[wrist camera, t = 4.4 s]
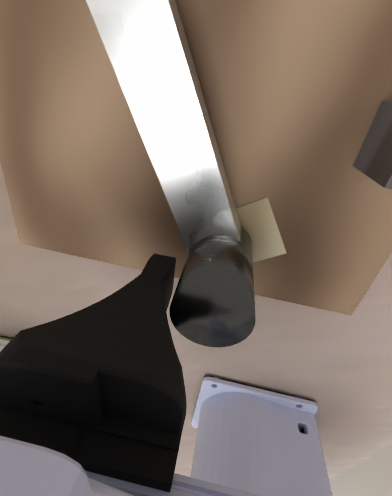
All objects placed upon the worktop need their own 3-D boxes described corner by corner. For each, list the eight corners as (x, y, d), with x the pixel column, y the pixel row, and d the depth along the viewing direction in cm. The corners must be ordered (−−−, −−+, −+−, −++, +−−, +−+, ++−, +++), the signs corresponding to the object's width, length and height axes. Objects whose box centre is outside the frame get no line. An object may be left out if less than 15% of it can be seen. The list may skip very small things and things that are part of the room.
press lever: (128, -285, 7) (-110, -1051, 2) (267, 260, 14) (278, 341, 9) (11, -174, 8) (-298, -525, 3) (195, 274, 15) (175, 351, 11)
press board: (643, -219, 7) (1141, -607, 3) (343, 297, 16) (372, 361, 12) (-65, -281, 8) (-342, -613, 4) (36, 232, 18) (-22, 272, 14)
